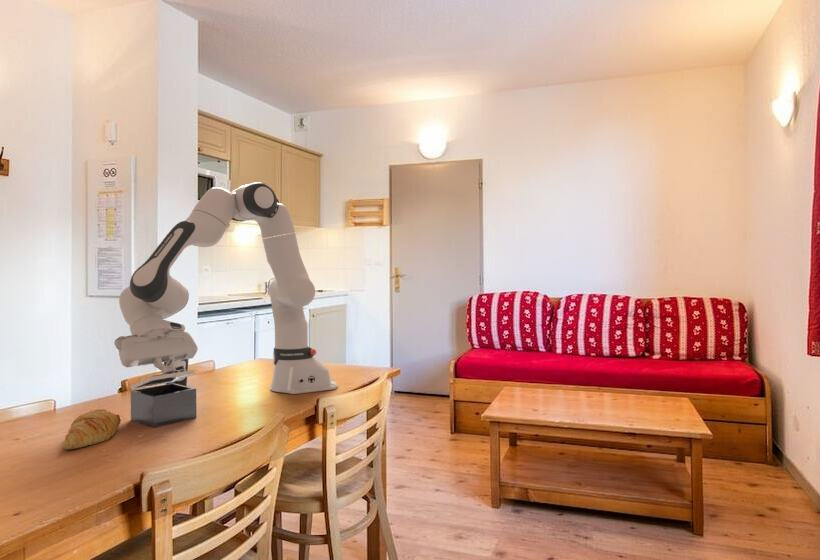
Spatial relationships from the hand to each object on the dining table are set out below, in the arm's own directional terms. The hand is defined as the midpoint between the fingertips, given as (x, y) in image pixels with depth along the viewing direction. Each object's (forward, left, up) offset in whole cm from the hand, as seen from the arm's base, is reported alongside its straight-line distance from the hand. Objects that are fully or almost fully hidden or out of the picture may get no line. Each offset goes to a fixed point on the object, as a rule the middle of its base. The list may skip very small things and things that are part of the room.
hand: (169, 372), depth 142 cm
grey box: (+2, -3, -13) cm, 13 cm away
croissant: (+16, +10, -13) cm, 23 cm away
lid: (+2, -3, -3) cm, 5 cm away
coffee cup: (+3, -46, -13) cm, 48 cm away
